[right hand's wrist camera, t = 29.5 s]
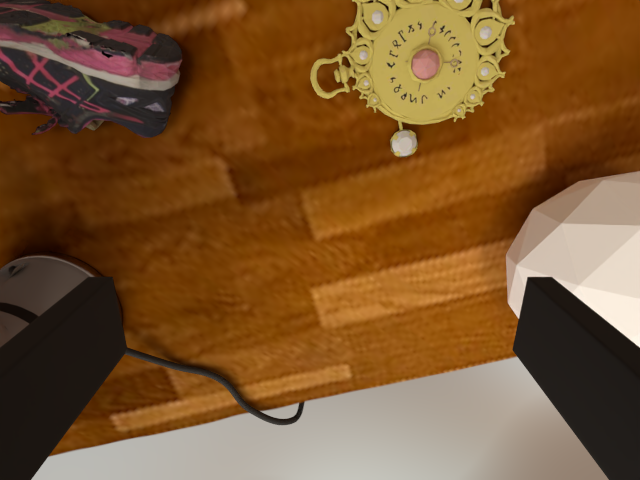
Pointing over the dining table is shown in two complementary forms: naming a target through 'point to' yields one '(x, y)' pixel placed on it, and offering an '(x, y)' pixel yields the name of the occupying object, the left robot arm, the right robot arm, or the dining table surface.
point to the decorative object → (421, 60)
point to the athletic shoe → (86, 68)
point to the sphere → (585, 248)
